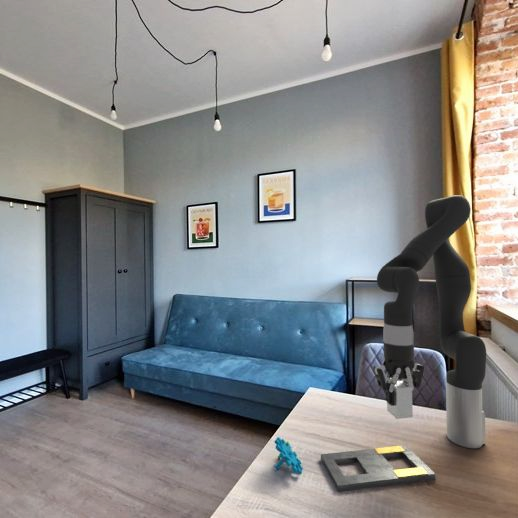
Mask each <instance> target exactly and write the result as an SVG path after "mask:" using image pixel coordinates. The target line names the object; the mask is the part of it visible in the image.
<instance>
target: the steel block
mask: <svg viewBox="0 0 518 518" xmlns="http://www.w3.org/2000/svg"><path fill="white" fill-rule="evenodd" d="M393 392H394V406H391V405H390V404H388V402H387V401H386V405H387V406H386V408H387V409H386V411H387V412H389V414H391V415H392V416H393V417H394V418H395V419H397V420H399V419H408V418H409V419H411V418H413V417H414V416H413V401H412V387H411V386H410V385H408V384H407V383H404V382H403V380H402V379H400V380H397V384H395V387H394V390H393Z"/></svg>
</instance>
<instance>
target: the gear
mask: <svg viewBox="0 0 518 518" xmlns="http://www.w3.org/2000/svg"><path fill="white" fill-rule="evenodd" d="M273 443H274V444H275V449H276V451H278V452H279V454H278V456H277V458H278V459H279V461H278V462H277V463H276V464H275V466H274V467H273V468H274V469H275V470H276V471H277V470H279V469H280V468H281V466H283V464H284V463H285V465H286V466H287V468H290V467H291V471H292V472H293V473H294V474H296V473H297V474H298V475H301V474H302V473H303V470H304V468H303V466H302V461H301V460H300V459H299V458H297V457H298V454H297V453H296V451H293V448H292V446H291V443H290V442H289V441H286V440H285V439H284V438H280V437H279V436H278V437H277V438H275V440H274V442H273Z"/></svg>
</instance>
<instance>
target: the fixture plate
mask: <svg viewBox="0 0 518 518" xmlns="http://www.w3.org/2000/svg"><path fill="white" fill-rule="evenodd" d="M399 458H400V459H401V458H402V459H404V460H405V461H406V462H407V463H408V464H409V466H411V467H409V468H401V469H395V468H394V467H393V466H392V465H391V463H389V461H388V460H391V459H399ZM320 461H321V463H322V465H323V466H324V468H325V470H326V472H327V474H328V476H329V479H331V481H332V483H333V486H334V488H335V489H336V491H337V492H340V493H341V492H345V491H346V492H347V491H348V492H349V491H355V490H357V491H358V490H363V489H371V488H380V487H387V486H395V485H401V484H402V485H403V484H404V485H405V484H410V483H419V482H427V481H435V480H436V473H435V472H434V471H433V469H431V468H430V467H429V466H428V465H427V464H426V463H425V462H424V461H423V460H422V459H421V458H420V457H419V456H418V455H416V453H415V452H413V451H412V450H411V449H410V448H409V447H408V445H405V444H404V445H394V446H393V445H392V446H386V447H385V446H384V447H375V448H369V449H368V448H367V449H360V450H359V449H358V450H349V451H341V452H340V451H339V452H338V451H337V452H330V453H322V454H320ZM355 463H356V464H357V466H358V467H359V468H360V471H362V473H361V474H353V475H345V476H344V474H343V472H342V471H341V469H340V467H339V465H347V464H349V465H350V464H355Z"/></svg>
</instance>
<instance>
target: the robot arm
mask: <svg viewBox="0 0 518 518" xmlns="http://www.w3.org/2000/svg"><path fill="white" fill-rule="evenodd" d="M470 204H471V203H470V202H469V200H468V199H467V198H466V197H465V196H463V195H457V194H456V195H451V196H445V197H442V198H437V199H433V200H430V201H429V202H427V204H426V206H425V208H424V217H425V224H426V229H425V230H423V231H421V232H420V233H419V234H418V233H417V235H416V236H415V237H413V238H412V239H410V241H409V242H408V244H406V246H405V247H404V249H403V250H402V251H401V252H400V254H398V255H397V256H395V257H393V258H392V259H391V260H390V261H388V262H387V263H385V264H384V265H383V266H382V267H381V268H380V269H379V271H378V273H377V276H376V284H377V286H378V288H379V289H380V290H382V291H383V292H387V293H395V294H397V296H396V299H395V300H391V301H387V302H386V303H384V305H383V329H382V331H383V333H382V334H383V335H382V336H383V338H382V339H383V342H382V343H383V344H382V345H383V348H382V349H383V358H384V361H383V362H382V365H379V366H376V365H374V366H373V367H372V369H373V372H374V375H375V379H376V382H377V386H378V387H379V388H380V389H382V390H383V391H385V402H386V403H387V402H388V404H390V405H391V406H394V392H393V390H394V387H395V384H397V381H399V380H402V381H403V382H404V383H407V384H408V385H410V386H411V387H412V402H413V401H414V390H415V389H416V388H420V387H421V382H422V378H423V375H424V371H425V366H424V365H422V364H420V363H418V362H414V359H415V341H414V340H415V339H414V338H415V336H414V335H415V334H414V327H413V309H414V304H415V302H416V301H415V300H416V297H417V294H418V290H419V286H420V277H419V275H418V272H420V271H422V270H423V269H424V268H425V266H426V265H427V263H429V261H430V259H431V258H432V259H433V266H434V279H435V286H436V292H437V301H438V309H439V336H440V337H439V341H440V342H439V343H440V348H441V350H442V351H443V353H444V354H445V355H446V356H447V357H449V358H450V359H453V360H455V368H454V369H451V370H448V371H447V372H446V374H445V375H446V376H445V378H446V379H445V381H446V383H445V385H446V387H445V388H446V389H445V392H446V395H445V397H446V400H445V403H446V404H445V405H446V408H445V410H446V437H447V438H448V440H450V441H451V442H452V443H454V444H455V445H458V446H461V447H464V448H468V449H479V448H481V447H482V446H483V445H485V444H486V412H485V411H484V410H483V382H484V380H485V378H486V370H487V369H486V368H487V367H486V366H487V348H486V344H485V342H484V341H483V339H482V338H481V337H480V336H477V335H475V334H472V333H470V332H466V330H465V329H466V328H465V324H464V310H465V307H466V305H467V303H468V300H469V299H470V295H471V292H472V282H471V274H470V273H471V272H470V269H469V266H468V264H467V263H466V261H465V260H464V258H463V257H462V256H461V255H460V254H459V253H458V252H457V250H455V248H454V247H453V246H452V243H451V242H450V240H449V238H451V236H453V234H455V233H456V232H457V231H458V230H460V228H461V227H462V226H464V224H465V223H466V222H468V220H469V218H470V215H471V205H470ZM385 371H386V372H385ZM385 373H386V374H385Z"/></svg>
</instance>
